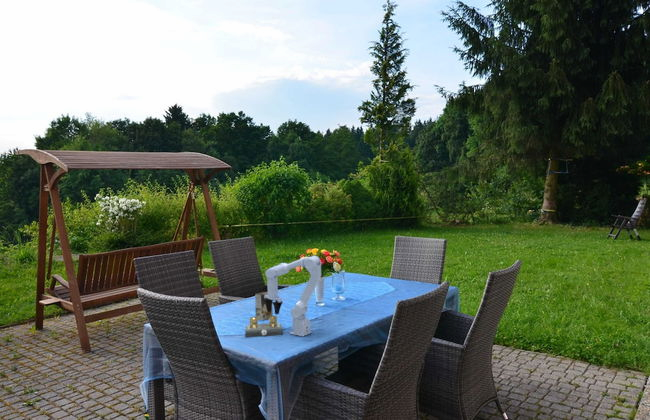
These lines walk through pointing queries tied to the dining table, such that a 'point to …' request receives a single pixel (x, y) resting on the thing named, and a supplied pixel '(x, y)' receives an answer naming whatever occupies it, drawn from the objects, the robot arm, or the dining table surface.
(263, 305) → the coffee box
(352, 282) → the dining table surface
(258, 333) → the scale
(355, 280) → the dining table surface
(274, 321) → the cylinder
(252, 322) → the cylinder
